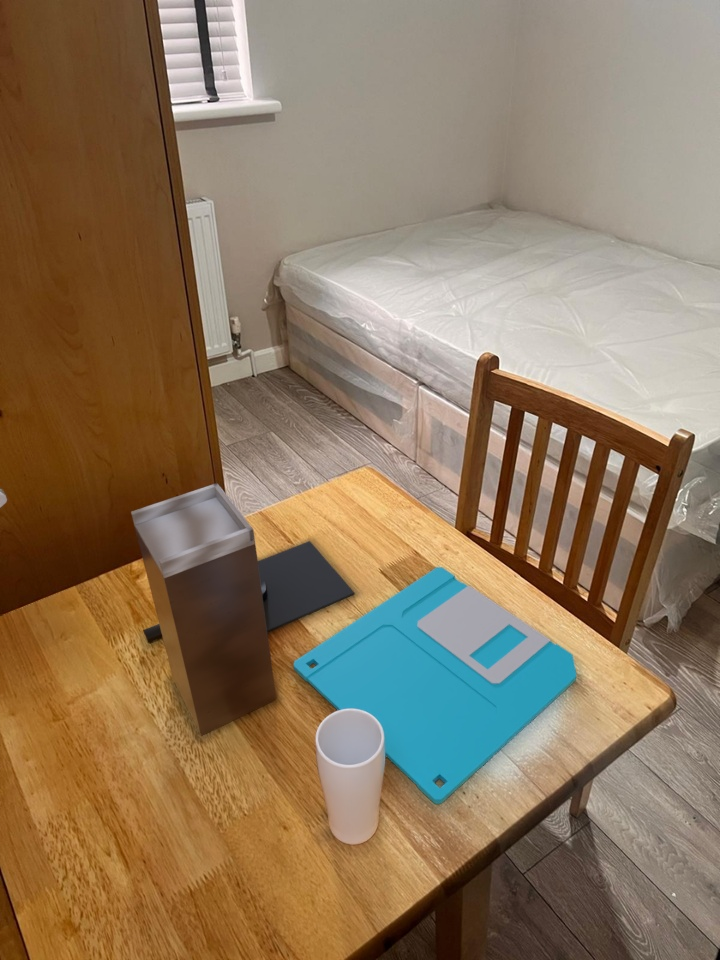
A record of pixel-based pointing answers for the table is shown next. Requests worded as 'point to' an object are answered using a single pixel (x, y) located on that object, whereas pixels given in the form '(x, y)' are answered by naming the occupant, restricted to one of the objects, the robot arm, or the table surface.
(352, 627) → the diskette
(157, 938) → the table surface
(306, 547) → the mat
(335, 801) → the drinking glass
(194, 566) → the stand
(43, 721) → the table surface
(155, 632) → the lever handle
